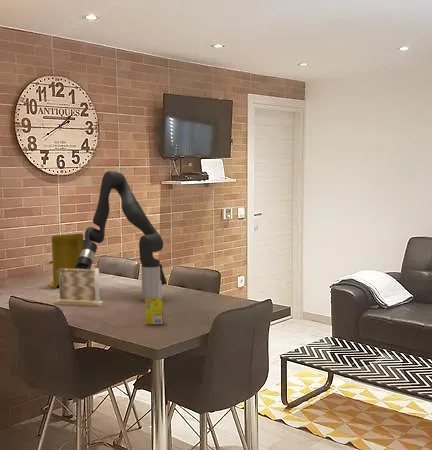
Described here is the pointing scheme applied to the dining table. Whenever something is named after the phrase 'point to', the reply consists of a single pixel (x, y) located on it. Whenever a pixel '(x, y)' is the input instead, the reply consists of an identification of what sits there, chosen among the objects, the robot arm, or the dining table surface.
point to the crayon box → (154, 311)
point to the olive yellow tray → (65, 254)
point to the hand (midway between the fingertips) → (75, 287)
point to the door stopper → (162, 276)
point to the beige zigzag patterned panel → (77, 284)
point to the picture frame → (82, 302)
